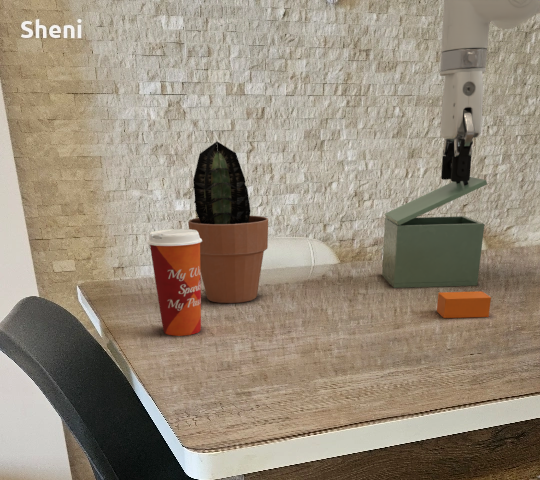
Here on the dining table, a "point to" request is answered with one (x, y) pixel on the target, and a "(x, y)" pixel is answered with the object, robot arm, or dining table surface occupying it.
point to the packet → (463, 304)
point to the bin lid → (434, 199)
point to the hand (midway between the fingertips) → (455, 179)
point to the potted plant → (227, 228)
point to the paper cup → (177, 279)
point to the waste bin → (432, 252)
